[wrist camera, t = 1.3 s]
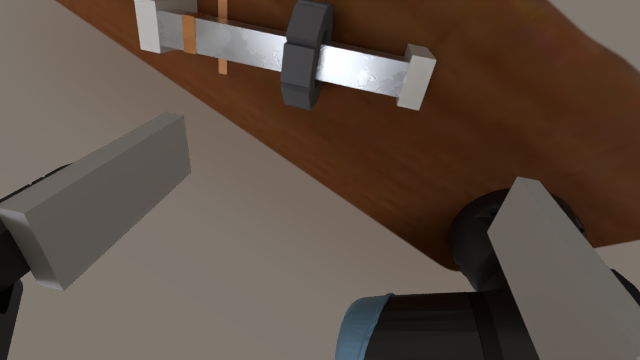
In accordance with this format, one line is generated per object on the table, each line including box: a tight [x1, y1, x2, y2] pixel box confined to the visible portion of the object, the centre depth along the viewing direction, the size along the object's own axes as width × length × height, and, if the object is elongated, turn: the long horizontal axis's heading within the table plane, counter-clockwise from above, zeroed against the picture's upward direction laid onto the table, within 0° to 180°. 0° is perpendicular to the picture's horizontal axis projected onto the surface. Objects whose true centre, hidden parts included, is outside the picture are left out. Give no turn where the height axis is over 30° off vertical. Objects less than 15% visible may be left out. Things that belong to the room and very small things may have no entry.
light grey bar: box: [157, 9, 410, 97], centre depth 29 cm, size 25×3×3 cm, turn 81°
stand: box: [134, 0, 436, 111], centre depth 31 cm, size 27×10×7 cm, turn 81°
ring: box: [280, 0, 333, 110], centre depth 29 cm, size 2×9×9 cm, turn 171°
